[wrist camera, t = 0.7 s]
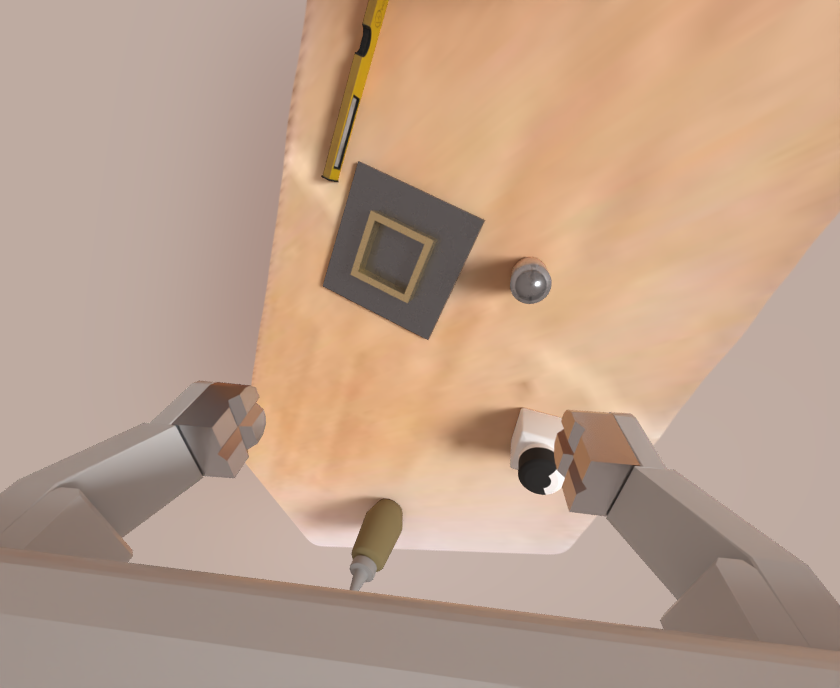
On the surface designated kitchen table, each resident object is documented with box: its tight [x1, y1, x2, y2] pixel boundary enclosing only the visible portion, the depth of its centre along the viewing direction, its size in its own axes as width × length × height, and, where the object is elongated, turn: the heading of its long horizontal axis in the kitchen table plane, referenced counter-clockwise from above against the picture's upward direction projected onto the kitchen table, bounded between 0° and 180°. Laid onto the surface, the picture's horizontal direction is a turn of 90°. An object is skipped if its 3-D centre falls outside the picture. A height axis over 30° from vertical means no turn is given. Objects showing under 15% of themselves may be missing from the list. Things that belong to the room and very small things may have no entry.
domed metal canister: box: [510, 257, 551, 304], centre depth 44 cm, size 5×5×9 cm
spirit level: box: [321, 0, 389, 182], centre depth 43 cm, size 33×1×3 cm, turn 156°
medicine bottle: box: [510, 408, 565, 495], centre depth 51 cm, size 7×7×12 cm
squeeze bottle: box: [350, 499, 402, 591], centre depth 64 cm, size 8×8×18 cm
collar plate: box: [323, 161, 485, 340], centre depth 51 cm, size 20×20×4 cm
